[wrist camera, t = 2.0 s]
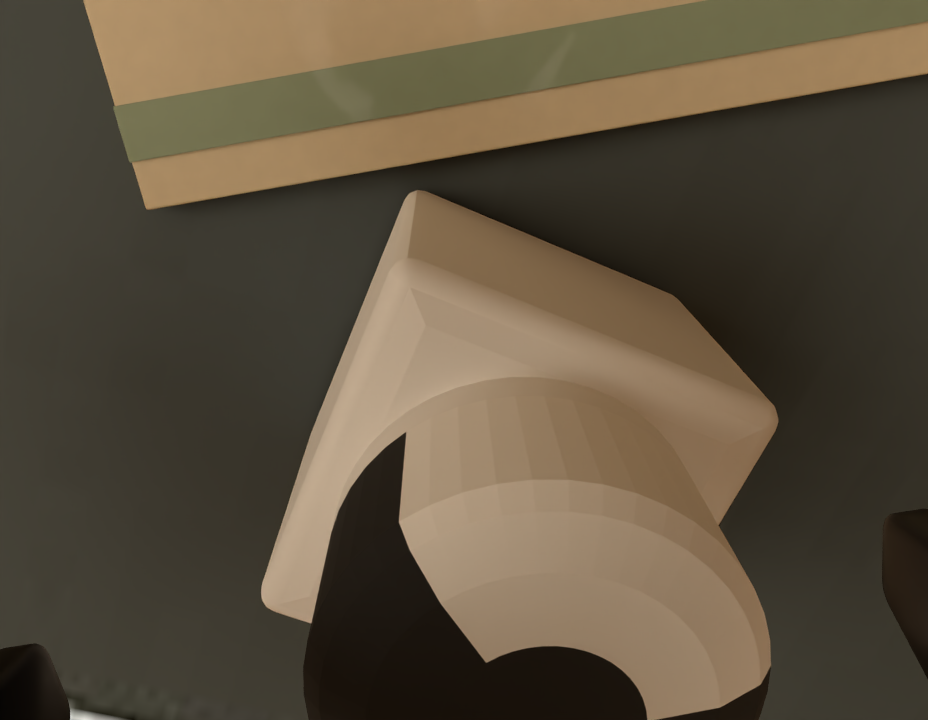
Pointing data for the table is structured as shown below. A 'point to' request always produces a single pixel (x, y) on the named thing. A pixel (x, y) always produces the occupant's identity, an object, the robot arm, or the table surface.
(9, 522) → the table surface
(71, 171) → the table surface
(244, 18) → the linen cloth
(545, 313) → the medicine bottle
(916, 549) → the robot arm
